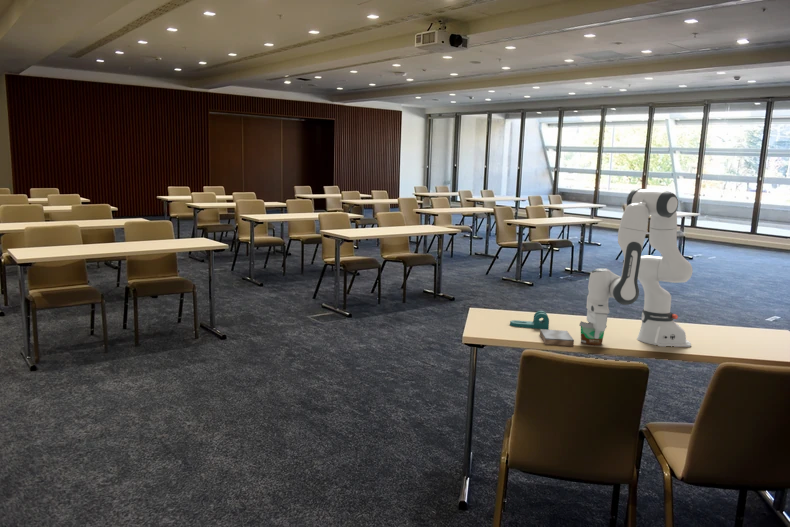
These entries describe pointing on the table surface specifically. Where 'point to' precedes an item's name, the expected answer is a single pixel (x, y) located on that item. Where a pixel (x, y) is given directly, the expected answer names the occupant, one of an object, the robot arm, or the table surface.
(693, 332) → the table surface
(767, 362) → the table surface
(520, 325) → the bracket
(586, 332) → the food container
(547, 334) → the grey flat block
